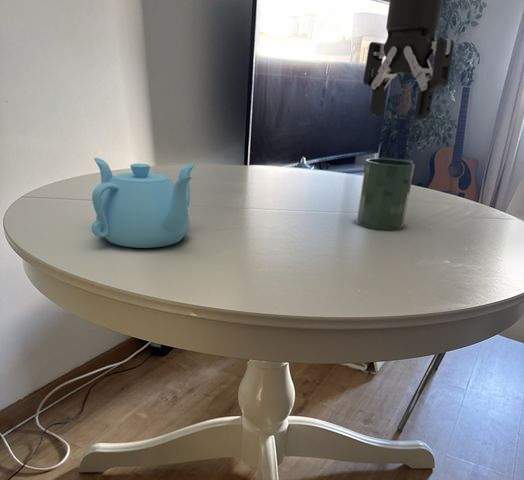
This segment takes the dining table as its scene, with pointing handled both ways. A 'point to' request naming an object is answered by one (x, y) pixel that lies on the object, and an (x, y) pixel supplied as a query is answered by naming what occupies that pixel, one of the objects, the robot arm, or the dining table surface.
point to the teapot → (141, 207)
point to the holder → (384, 193)
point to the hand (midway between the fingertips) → (397, 117)
